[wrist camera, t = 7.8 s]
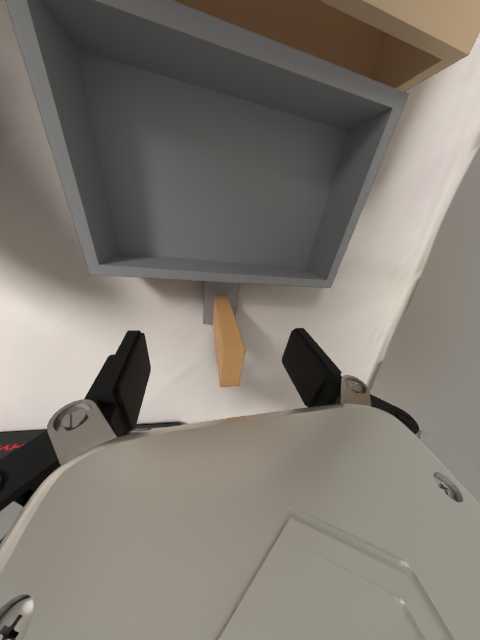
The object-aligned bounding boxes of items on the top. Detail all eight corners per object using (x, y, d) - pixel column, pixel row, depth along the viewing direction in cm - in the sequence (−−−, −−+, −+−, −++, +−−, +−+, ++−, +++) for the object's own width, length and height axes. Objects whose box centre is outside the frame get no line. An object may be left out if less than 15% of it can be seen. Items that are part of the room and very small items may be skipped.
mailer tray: (62, 30, 8) (-492, -697, 2) (355, 123, 12) (547, 17, 5) (128, 321, 16) (79, 398, 9) (291, 322, 20) (337, 378, 13)
